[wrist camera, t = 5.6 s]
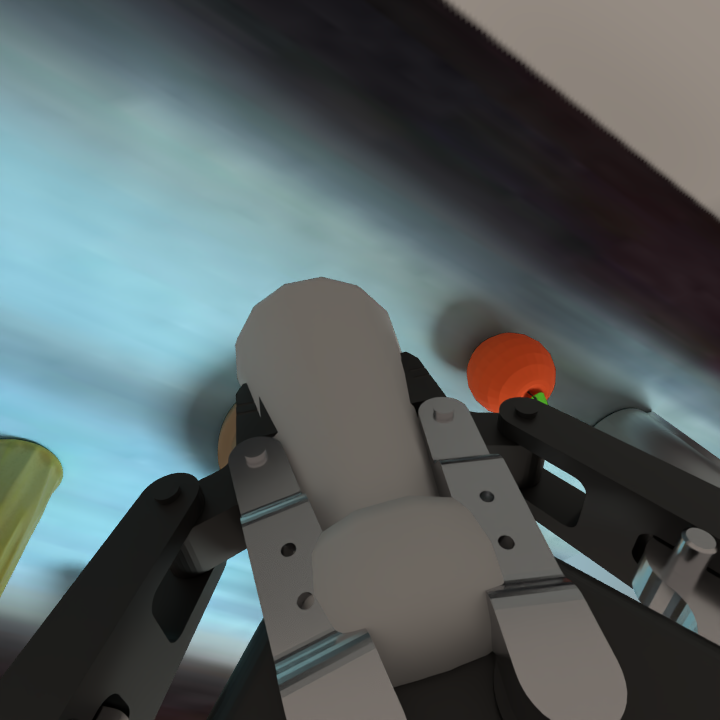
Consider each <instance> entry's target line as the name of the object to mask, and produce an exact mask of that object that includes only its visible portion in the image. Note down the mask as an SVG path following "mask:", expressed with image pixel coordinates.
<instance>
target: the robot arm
mask: <svg viewBox="0 0 720 720" xmlns="http://www.w3.org/2000/svg"><path fill="white" fill-rule="evenodd" d="M400 355H401V357H400V358H402V359H401V362H402V366H403V369H404V373H405V378H406V383H407V388H408V394H409V399H410V404H412V405H413V406H414V408H415V411H416V413H417V416H418V420H419V426H420V429H421V433H422V436H423V440H424V444H425V447H426V451H427V454H428V458H429V461H430V465H431V469H432V472H433V476H434V479H435V483H436V486H437V490H438V493H439V497H451V498H455V499H456V500H457V501H458V502H459V503H461V504H462V505H463V506H464V507H466V508H467V509H468V510H469V511H470V512H471V513H472V515H473V516H474V518H475V519H476V521H477V522H478V524H479V525H480V527H481V528H482V530H483V531H484V533H485V534H486V535H487V537H488V538H489V540H490V541H491V543H492V546H493V549H494V552H495V555H496V558H497V561H498V564H499V567H500V570H501V573H502V576H503V580H504V583H503V584H502V585H499V586H497V587H494V588H491V589H488V590H485V593H486V599H487V605H488V610H489V616H490V622H491V643H492V649H493V651H492V652H490V653H489V654H488V655H486V656H483V657H481V658H478V659H476V660H473V661H471V662H468V663H466V664H463V665H461V666H458V667H456V668H454V669H452V670H450V671H447V672H443V673H439V674H436V675H433V676H430V677H427V678H424V679H421V680H418V681H414V682H411V683H407V684H404V685H400V686H397V687H393V686H392V684H391V682H390V679H389V677H388V675H387V672H386V670H385V668H384V666H383V663H382V661H381V659H380V656H379V654H378V652H377V650H376V647H375V645H374V643H373V641H372V639H371V637H370V635H369V633H368V631H367V629H366V628H364V629H360V630H356V631H353V632H348V633H341V632H338V631H336V630H335V629H334V627H333V626H332V624H331V623H330V621H329V619H328V617H327V616H326V614H325V612H324V611H323V609H322V607H321V605H320V604H319V602H318V600H317V598H316V597H315V595H314V585H313V569H312V552H313V550H314V548H315V546H316V543H317V541H318V539H319V537H320V535H321V533H322V530H321V527H320V525H319V523H318V520H317V518H316V516H315V513H314V511H313V509H312V506H311V504H310V502H309V500H308V497H307V496H306V494H305V493H303V494H302V492H301V490H300V488H299V485H298V483H297V480H296V478H295V476H294V473H293V471H292V469H291V466H290V464H289V462H288V459H287V457H286V454H285V452H284V450H283V447H282V445H281V443H280V442H279V441H278V440H276V439H275V438H273V437H274V436H275V435H276V434H277V433H278V431H277V429H276V427H275V425H274V423H273V422H272V420H271V418H270V416H269V414H268V412H267V410H266V408H265V406H264V404H263V402H262V401H261V399H260V397H259V404H260V415H259V412H258V410H257V407H256V404H255V403H254V400H253V397H252V395H251V392H250V390H249V387H248V385H247V383H244V384H242V386H241V387H240V389H239V391H238V392H237V394H236V447H235V448H234V449H233V450H232V451H231V453H230V455H229V458H228V464H227V465H226V466H224V467H223V468H222V469H220V470H219V471H217V472H215V473H213V474H211V475H209V476H207V477H205V478H203V479H201V480H199V481H198V480H197V479H196V478H195V477H194V476H193V475H191V474H188V473H174V474H170V475H167V476H164V477H162V478H160V479H158V480H156V481H155V482H153V483H152V484H150V485H149V486H148V487H147V488H146V489H145V490H144V491H143V492H142V494H141V495H140V496H139V498H138V499H137V500H136V501H135V503H134V504H133V505H132V507H131V508H130V509H129V511H128V512H127V513H126V515H125V516H124V517H123V519H122V520H121V521H120V522H119V524H118V525H117V526H116V528H115V529H114V530H113V532H112V533H111V534H110V536H109V537H108V538H107V540H106V541H105V542H104V543H103V545H102V546H101V547H100V549H99V550H98V551H97V553H96V554H95V555H94V557H93V558H92V559H91V561H90V562H89V563H88V564H87V566H86V567H85V568H84V570H83V571H82V572H81V574H80V575H79V576H78V578H77V579H76V580H75V582H74V583H73V584H72V586H71V587H70V588H69V589H68V591H67V592H66V593H65V595H64V596H63V597H62V599H61V600H60V601H59V603H58V604H57V605H56V607H55V608H54V609H53V610H52V612H51V613H50V614H49V616H48V617H47V618H46V620H45V621H44V622H43V624H42V625H41V626H40V628H39V629H38V630H37V631H36V633H35V634H34V635H33V637H32V638H31V639H30V641H29V642H28V643H27V645H26V646H25V647H24V649H23V650H22V651H21V652H20V654H19V655H18V656H17V658H16V659H15V660H14V662H13V663H12V664H11V666H10V667H9V668H8V670H7V671H6V672H5V673H4V675H3V676H2V677H1V679H0V720H154V719H155V716H156V714H157V712H158V710H159V708H160V706H161V704H162V701H163V699H164V697H165V695H166V693H167V691H168V689H169V686H170V684H171V682H172V680H173V678H174V676H175V674H176V671H177V669H178V667H179V665H180V663H181V661H182V659H183V656H184V654H185V652H186V650H187V648H188V646H189V643H190V641H191V639H192V637H193V635H194V633H195V631H196V628H197V626H198V624H199V622H200V620H201V618H202V616H203V613H204V611H205V609H206V607H207V605H208V603H209V601H210V598H211V596H212V594H213V592H214V590H215V588H216V586H217V583H218V581H219V579H220V577H221V575H222V573H223V570H224V568H225V566H226V562H227V559H229V558H231V557H233V556H234V555H236V554H238V553H240V552H241V551H243V550H245V549H246V548H247V550H248V554H249V558H250V563H251V567H252V571H253V575H254V579H255V583H256V588H257V592H258V596H259V600H260V604H261V609H262V613H263V619H262V621H261V622H260V624H259V626H258V628H257V630H256V631H255V633H254V635H253V637H252V639H251V640H250V642H249V644H248V646H247V648H246V649H245V651H244V653H243V655H242V657H241V658H240V660H239V662H238V664H237V666H236V667H235V669H234V671H233V673H232V675H231V676H230V678H229V680H228V682H227V684H226V685H225V687H224V689H223V691H222V693H221V694H220V696H219V698H218V700H217V702H216V703H215V705H214V707H213V709H212V711H211V712H210V714H209V716H208V718H207V720H720V459H719V458H717V457H716V456H715V455H713V454H712V453H710V452H709V451H708V450H706V449H705V448H703V447H702V446H701V445H699V444H698V443H696V442H695V441H694V440H692V439H691V438H689V437H688V436H687V435H685V434H684V433H682V432H681V431H680V430H678V429H677V428H676V427H674V426H673V425H671V424H670V423H669V422H667V421H666V420H664V419H663V418H662V417H660V416H659V415H657V414H656V413H655V412H650V413H646V412H644V411H642V410H640V409H635V408H631V409H624V410H620V411H618V412H615V413H613V414H611V415H609V416H608V417H606V418H604V419H603V420H602V421H600V422H599V423H598V424H596V425H595V426H594V427H592V426H590V425H588V424H586V423H584V422H582V421H580V420H578V419H576V418H574V417H571V416H569V415H567V414H565V413H563V412H561V411H559V410H557V409H555V408H553V407H551V406H549V405H547V404H544V403H542V402H540V401H538V400H535V399H532V398H527V397H514V398H510V399H507V400H505V401H504V402H502V403H501V405H500V407H499V413H477V412H470V411H469V410H468V408H467V407H466V406H465V404H463V403H462V402H460V401H458V400H456V399H453V398H449V397H446V396H445V394H444V393H443V391H442V390H441V389H440V387H439V386H438V385H437V383H436V382H435V381H434V379H433V378H432V377H431V375H429V372H428V371H427V370H426V368H424V366H423V364H422V363H421V362H420V360H419V359H418V358H417V357H415V356H413V355H411V354H410V353H408V352H403V353H400ZM260 416H261V417H260ZM545 460H546V461H548V462H549V463H551V464H553V465H554V466H556V467H558V468H560V469H561V470H563V471H565V472H567V473H568V474H570V475H572V476H573V477H575V478H576V479H578V480H579V481H580V482H581V483H582V485H583V486H584V488H585V490H586V494H585V493H584V492H582V491H580V490H579V489H577V488H575V487H574V486H572V485H570V484H569V483H567V482H565V481H564V480H562V479H560V478H559V477H557V476H555V475H554V474H552V473H550V472H549V471H547V470H545V469H544V468H543V466H544V461H545ZM535 520H536V521H537V522H538V523H540V524H541V525H543V526H544V527H546V528H547V529H548V530H550V531H551V532H553V533H554V534H555V535H557V536H558V537H560V538H561V539H563V540H564V541H565V542H567V543H568V544H570V545H571V546H573V547H574V548H575V549H577V550H578V551H580V552H581V553H583V554H584V555H585V556H587V557H589V558H590V559H591V560H592V561H594V562H595V563H597V564H598V565H600V566H601V567H602V568H604V569H605V570H607V571H608V572H610V573H611V574H612V575H614V576H615V577H617V578H618V579H620V580H621V581H622V582H624V583H625V584H627V585H628V586H630V587H631V588H632V589H634V592H635V594H636V596H637V598H638V599H639V601H640V602H641V603H642V604H641V603H639V602H638V601H636V600H634V599H632V598H630V597H628V596H627V595H625V594H623V593H621V592H619V591H617V590H615V589H614V588H612V587H610V586H608V585H606V584H604V583H602V582H601V581H599V580H597V579H595V578H593V577H591V576H589V575H588V574H586V573H584V572H582V571H580V570H578V569H576V568H575V567H573V566H571V565H569V564H567V563H565V562H564V561H562V560H560V559H558V558H556V557H554V556H553V554H552V552H551V550H550V548H549V546H548V544H547V542H546V540H545V539H544V537H543V535H542V533H541V531H540V529H539V527H538V525H537V523H536V521H535ZM502 547H503V548H502ZM311 595H312V596H313V597H314V603H313V605H312V606H311V607H310V608H309V609H306V610H302V609H301V608H302V606H303V603H304V602H305V600H306V599H307V598H308V597H309V596H311Z"/></svg>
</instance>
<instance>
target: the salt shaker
mask: <svg viewBox="0 0 720 720" xmlns="http://www.w3.org/2000/svg"><path fill="white" fill-rule="evenodd" d="M235 347H236V366H237V379H238V381H239V384H240V386H242V384H244V383H247V385H248V387H249V390H250V392H251V395H252V397H253V400H254V403H255V404H256V407H257V410H258V412H259V415H260V404H259V397H260V399H261V401H262V402H263V404H264V406H265V408H266V410H267V412H268V414H269V416H270V418H271V420H272V422H273V423H274V425H275V427H276V429H277V431H278V433H277V434H276V435H275V436H274V437H273V438H275V439H276V440H278V441H279V442H280V443H281V445H282V447H283V450H284V452H285V454H286V457H287V459H288V462H289V464H290V466H291V469H292V471H293V473H294V476H295V478H296V480H297V483H298V485H299V488H300V490H301V492H302V494H303V493H305V494H306V496H307V497H308V500H309V502H310V504H311V506H312V509H313V511H314V513H315V516H316V518H317V520H318V523H319V525H320V527H321V530H322V533H321V535H320V537H319V539H318V541H317V543H316V546H315V548H314V550H313V552H312V569H313V585H314V595H315V597H316V598H317V600H318V602H319V604H320V605H321V607H322V609H323V611H324V612H325V614H326V616H327V617H328V619H329V621H330V623H331V624H332V626H333V627H334V629H335V630H336V631H338V632H341V633H348V632H353V631H356V630H360V629H364V628H366V629H367V631H368V633H369V635H370V637H371V639H372V641H373V643H374V645H375V647H376V650H377V652H378V654H379V656H380V659H381V661H382V663H383V666H384V668H385V670H386V672H387V675H388V677H389V679H390V682H391V684H392V686H393V687H397V686H400V685H404V684H407V683H411V682H414V681H418V680H421V679H424V678H427V677H430V676H433V675H436V674H439V673H443V672H447V671H450V670H452V669H454V668H456V667H458V666H461V665H463V664H466V663H468V662H471V661H473V660H476V659H478V658H481V657H483V656H486V655H488V654H489V653H490V652H492V651H493V649H492V643H491V622H490V616H489V610H488V605H487V599H486V593H485V590H488V589H491V588H494V587H497V586H499V585H502V584H503V583H504V580H503V576H502V573H501V570H500V567H499V564H498V561H497V558H496V555H495V552H494V549H493V546H492V543H491V541H490V540H489V538H488V537H487V535H486V534H485V533H484V531H483V530H482V528H481V527H480V525H479V524H478V522H477V521H476V519H475V518H474V516H473V515H472V513H471V512H470V511H469V510H468V509H467V508H466V507H464V506H463V505H462V504H461V503H459V502H458V501H457V500H456V499H455V498H451V497H439V493H438V490H437V486H436V483H435V479H434V476H433V472H432V469H431V465H430V461H429V458H428V454H427V451H426V447H425V444H424V440H423V436H422V433H421V429H420V426H419V420H418V416H417V413H416V411H415V408H414V406H413V405H412V404H410V399H409V394H408V388H407V383H406V378H405V373H404V369H403V366H402V362H401V359H402V358H400V357H401V355H400V353H402V352H401V349H400V346H399V343H398V340H397V337H396V334H395V332H394V329H393V326H392V323H391V321H390V318H389V315H388V312H387V311H386V310H385V309H384V308H383V307H381V306H380V305H379V304H378V303H377V302H376V301H375V300H374V299H373V298H371V297H370V296H369V295H368V294H367V293H366V292H365V291H364V290H362V289H361V288H360V287H358V286H357V285H353V284H349V283H345V282H341V281H337V280H333V279H329V278H324V277H319V278H313V279H308V280H303V281H298V282H293V283H288V284H284V285H283V286H281V287H280V288H279V289H277V290H276V291H274V292H273V293H272V294H270V295H269V296H268V297H266V298H265V299H263V300H262V301H261V302H259V303H258V304H257V305H255V306H254V307H253V309H252V311H251V313H250V315H249V317H248V319H247V321H246V323H245V325H244V327H243V328H242V330H241V332H240V334H239V336H238V338H237V341H236V344H235ZM260 417H261V416H260ZM502 548H503V547H502ZM313 603H314V597H313V596H312V595H311V596H309V597H308V598H307V599H306V600H305V602H304V603H303V606H302V608H301V609H302V610H306V609H309V608H310V607H311V606H312V605H313Z"/></svg>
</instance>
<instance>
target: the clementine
mask: <svg viewBox="0 0 720 720" xmlns="http://www.w3.org/2000/svg"><path fill="white" fill-rule="evenodd" d="M555 378H556V369H555V366H554V363H553V360H552V358H551V355H550V353H549V352H548V351H547V350H546V349H545V348H544V347H543V346H542V344H541V343H540V342H538V341H536V340H534V339H532V338H530V337H528V336H526V335H524V334H517V333H502V334H498V335H496V336H493V337H491V338H488V339H487V340H485V341H484V342H482V343H481V344H480V345H479V346H478V347H477V348H476V349H475V351H474V352H473V354H472V356H471V358H470V361H469V363H468V367H467V379H468V386H469V388H470V390H471V392H472V394H473V396H474V397H475V399H476V401H478V402H479V403H480V404H481V405H482V406H483V407H485V408H486V409H487V410H488V411H491V412H494V413H499V407H500V405H501V403H502V402H504V401H505V400H507V399H510V398H514V397H527V398H532V399H535V400H538V401H540V402H542V403H544V404H547V405H548V403H547V399H548V398H549V397H550V395H551V393H552V391H553V389H554V385H555Z"/></svg>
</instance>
